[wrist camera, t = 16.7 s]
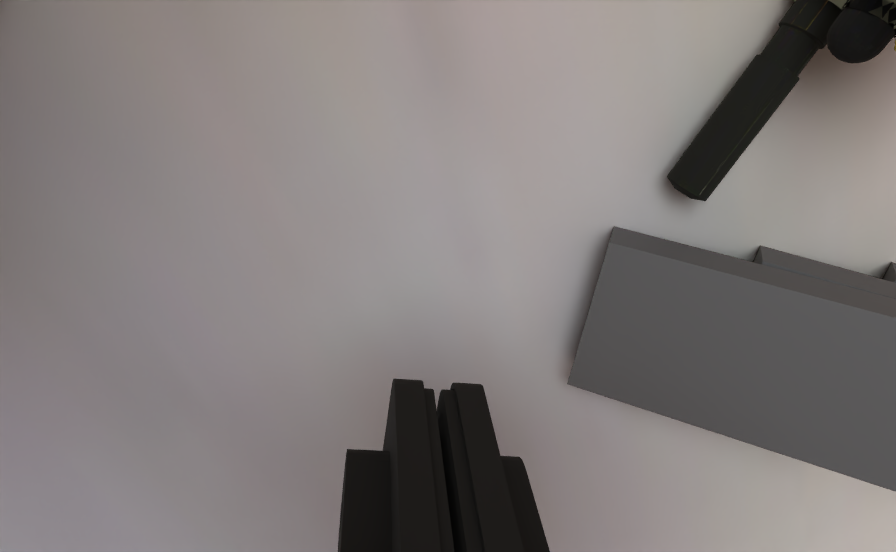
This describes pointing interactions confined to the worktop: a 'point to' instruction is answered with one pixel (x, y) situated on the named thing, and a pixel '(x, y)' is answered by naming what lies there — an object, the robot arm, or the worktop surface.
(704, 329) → the domino
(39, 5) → the worktop surface
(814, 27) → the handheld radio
